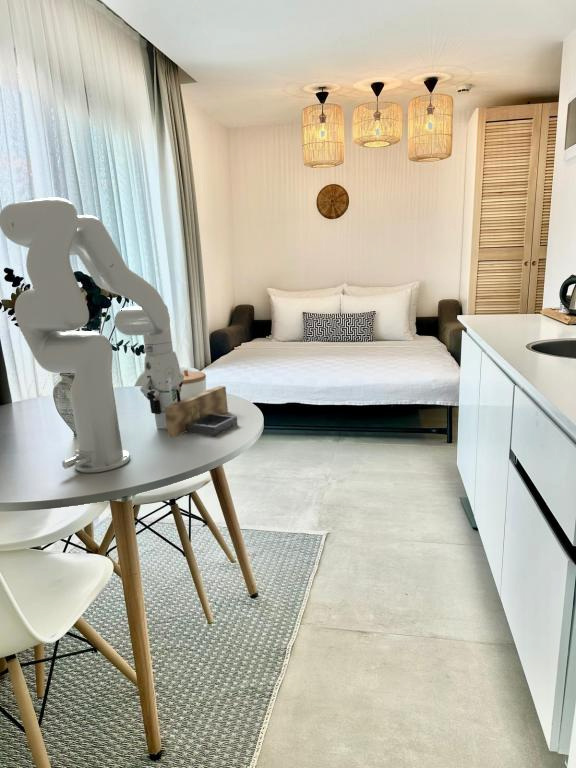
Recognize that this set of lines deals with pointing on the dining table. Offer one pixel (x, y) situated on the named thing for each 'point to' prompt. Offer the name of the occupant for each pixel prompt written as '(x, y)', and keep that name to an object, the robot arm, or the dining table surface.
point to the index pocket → (202, 428)
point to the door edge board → (195, 409)
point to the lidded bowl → (192, 384)
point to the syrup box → (165, 403)
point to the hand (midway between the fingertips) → (166, 408)
